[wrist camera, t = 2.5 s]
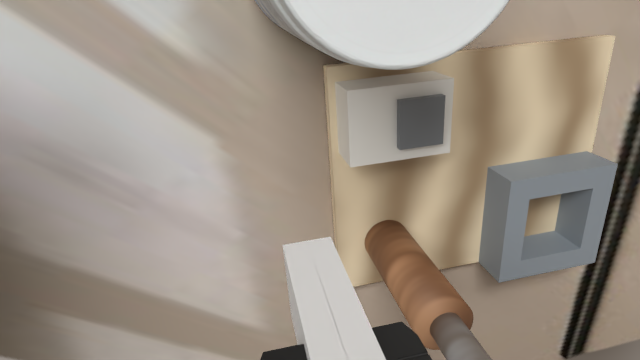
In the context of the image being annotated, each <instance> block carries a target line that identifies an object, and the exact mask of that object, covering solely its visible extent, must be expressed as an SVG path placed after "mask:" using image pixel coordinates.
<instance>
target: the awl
mask: <svg viewBox="0 0 640 360" xmlns="http://www.w3.org/2000/svg"><path fill="white" fill-rule="evenodd" d="M364 244H365V249H366V251H367V253H368V254H369V256H370V258H371V260H372V261H373V263H374V265H375V266H376V268H377V270H378V272H379V273H380V275H381V277H382V278H383V280H384V282H385V284H386V285H387V287H388V289H389V290H390V292H391V294H392V296H393V297H394V299H395V301H396V302H397V304H398V306H399V308H400V309H401V311H402V313H403V314H404V316H405V318H406V320H407V321H408V323H409V325H410V326H411V328H412V330H413V331H414V332H415V333H416V334H417V335H418V336H419V338H420V340H421V342H422V343H423V345H424V347H426V348H429V349H433V350H441V352H442V353H443V355H444V356H445V358H446V359H447V360H492V359H491V358H490V356H489V355H488V354H487V353H486V351H485V350H484V349H483V347H482V346H481V345H480V343H479V342H478V341H477V339H476V338H475V337H474V335H473V334H472V333H471V331H470V329H471V326H472V323H473V313H472V310H471V309H470V307H469V306H468V305H467V304H466V302H465V301H464V300H463V299H462V298H461V296H460V295H459V294H458V293H457V291H456V290H455V289H454V288H453V286H452V285H451V284H450V283H449V281H448V280H447V279H446V278H445V276H444V275H443V274H442V273H441V272H440V270H439V269H438V268H437V267H436V265H435V264H434V263H433V262H432V260H431V259H430V258H429V257H428V255H427V254H426V253H425V252H424V250H423V249H422V248H421V247H420V246H419V244H418V243H417V242H416V241H415V239H414V238H413V237H412V236H411V234H410V233H409V232H408V231H407V229H406V228H405V227H404V226H403V225H402V224H401V223H400V222H398V221H395V220H385V221H381V222H379V223H377V224H375V225H374V226H373V227H372V228H371V229H370V230H369V231H368V233H367V235H366V237H365V243H364Z"/></svg>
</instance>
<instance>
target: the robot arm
mask: <svg viewBox="0 0 640 360" xmlns="http://www.w3.org/2000/svg"><path fill="white" fill-rule="evenodd" d="M283 252H284V260H285V268H286V276H287V284H288V293H289V301H290V309H291V316H292V321H293V325H294V330H295V335H296V339H297V344H298V345H295V346H290V347H286V348H281V349H276V350H271V351H267V352H263V354H262V357H261V360H432V359H431V357H430V355H428V353H427V350H426V348H425V347H424V345H423V343H422V342H421V340H420V338H419V336H418V335H417V334H416V333H415V332H414V331H412V330H411V329H410V328H409V327H407V326H406V325H405V324H404V323H402V322H398V323H393V324H389V325H384V326H379V327H374V328H371V325H370V323H369V321H368V319H367V316H366V314H365V312H364V310H363V308H362V305H361V303H360V301H359V299H358V297H357V294H356V292H355V290H354V288H353V285H352V283H351V281H350V279H349V277H348V274H347V272H346V270H345V268H344V266H343V263H342V261H341V259H340V257H339V254H338V252H337V250H336V248H335V246H334V243H333V241H332V239H331V237H327V238H321V239H315V240H309V241H303V242H298V243H292V244H286V245H283Z"/></svg>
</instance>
